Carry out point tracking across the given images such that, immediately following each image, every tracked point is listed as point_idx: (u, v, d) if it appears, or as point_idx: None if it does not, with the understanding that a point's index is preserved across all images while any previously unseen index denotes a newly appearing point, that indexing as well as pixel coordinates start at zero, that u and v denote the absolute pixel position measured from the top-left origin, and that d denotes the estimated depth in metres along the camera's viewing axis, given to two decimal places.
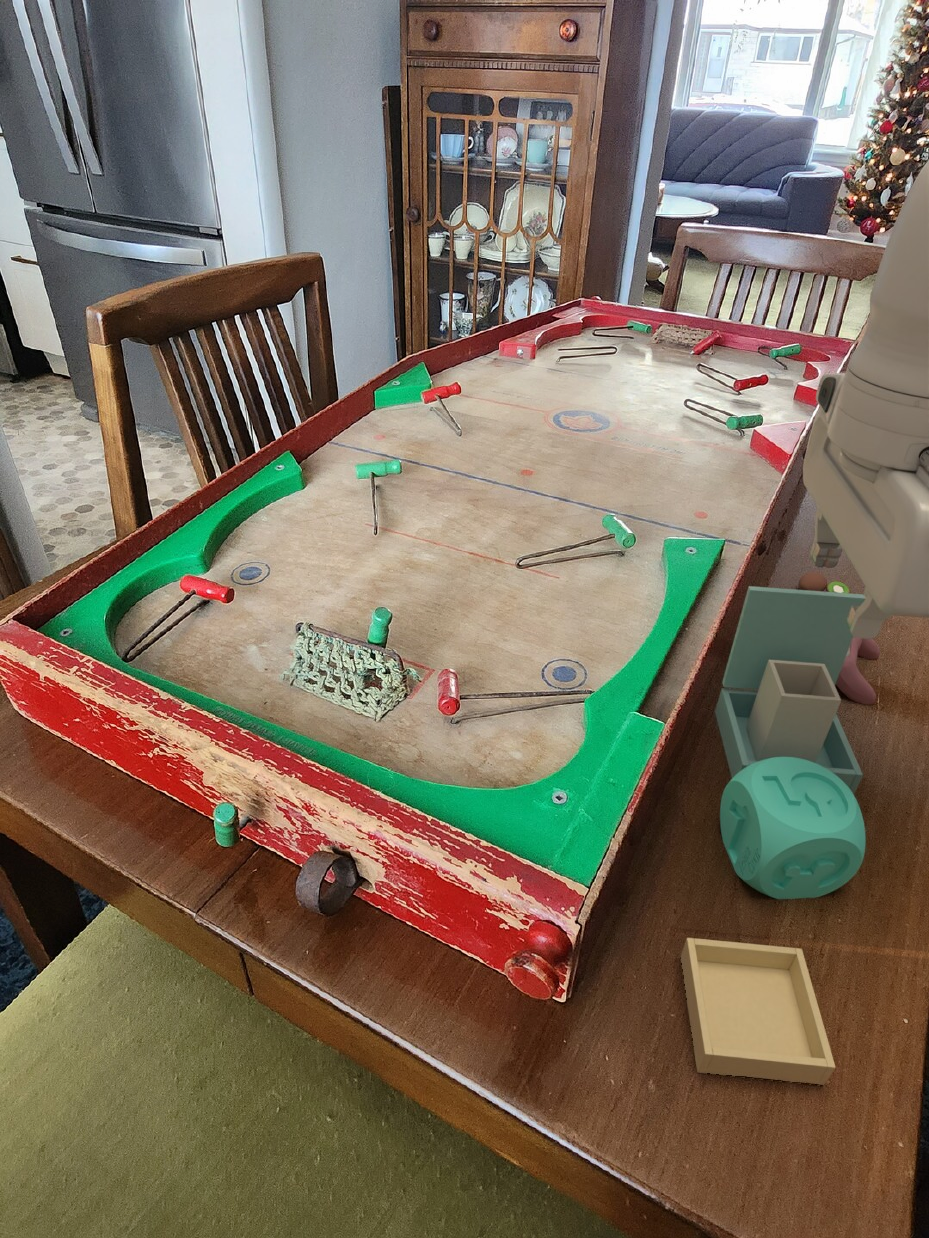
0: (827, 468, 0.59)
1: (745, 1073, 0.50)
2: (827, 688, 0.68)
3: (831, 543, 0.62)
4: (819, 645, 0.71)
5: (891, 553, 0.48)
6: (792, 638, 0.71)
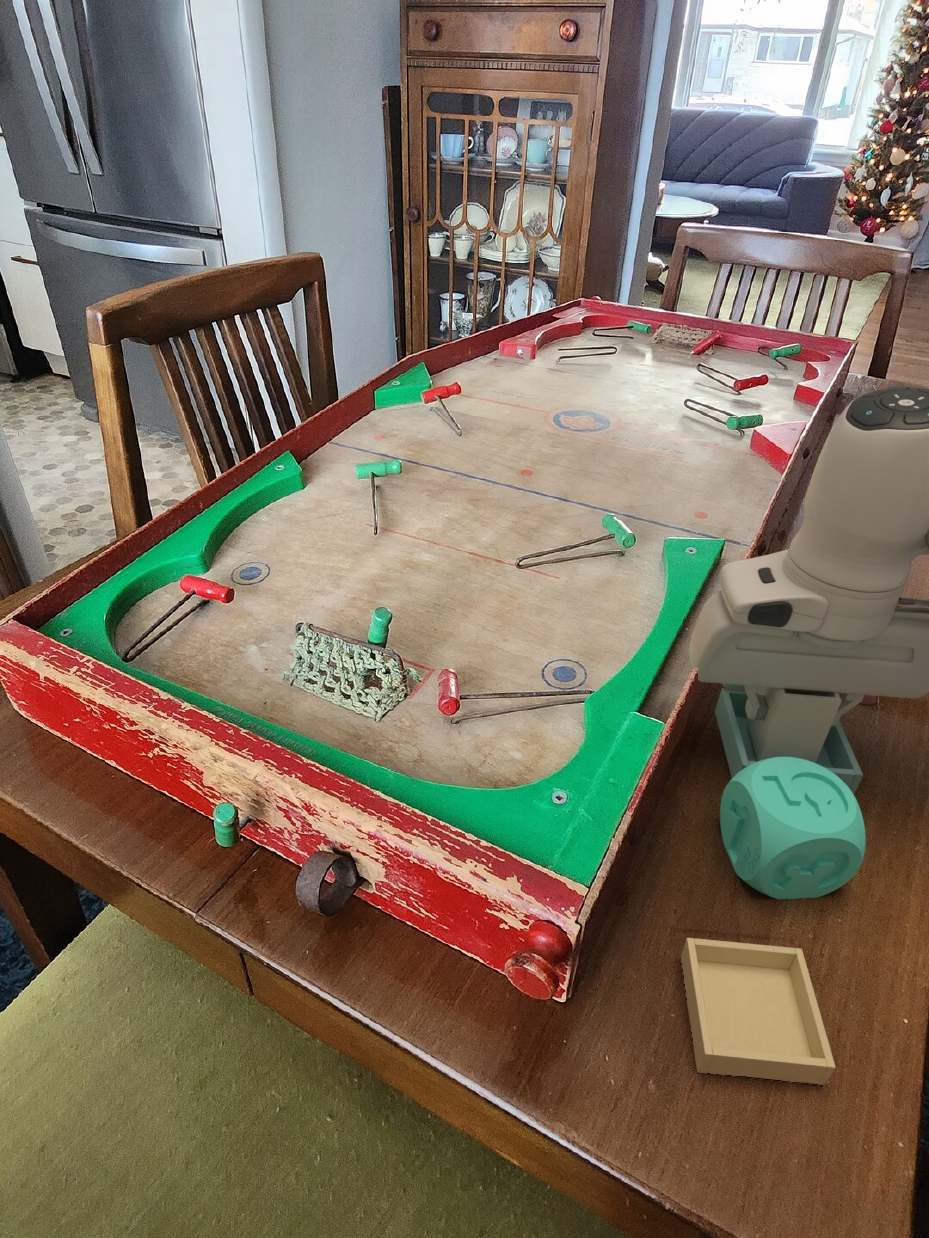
0: (757, 657, 0.65)
1: (745, 1073, 0.50)
2: None
3: (757, 698, 0.70)
4: None
5: (919, 667, 0.64)
6: None
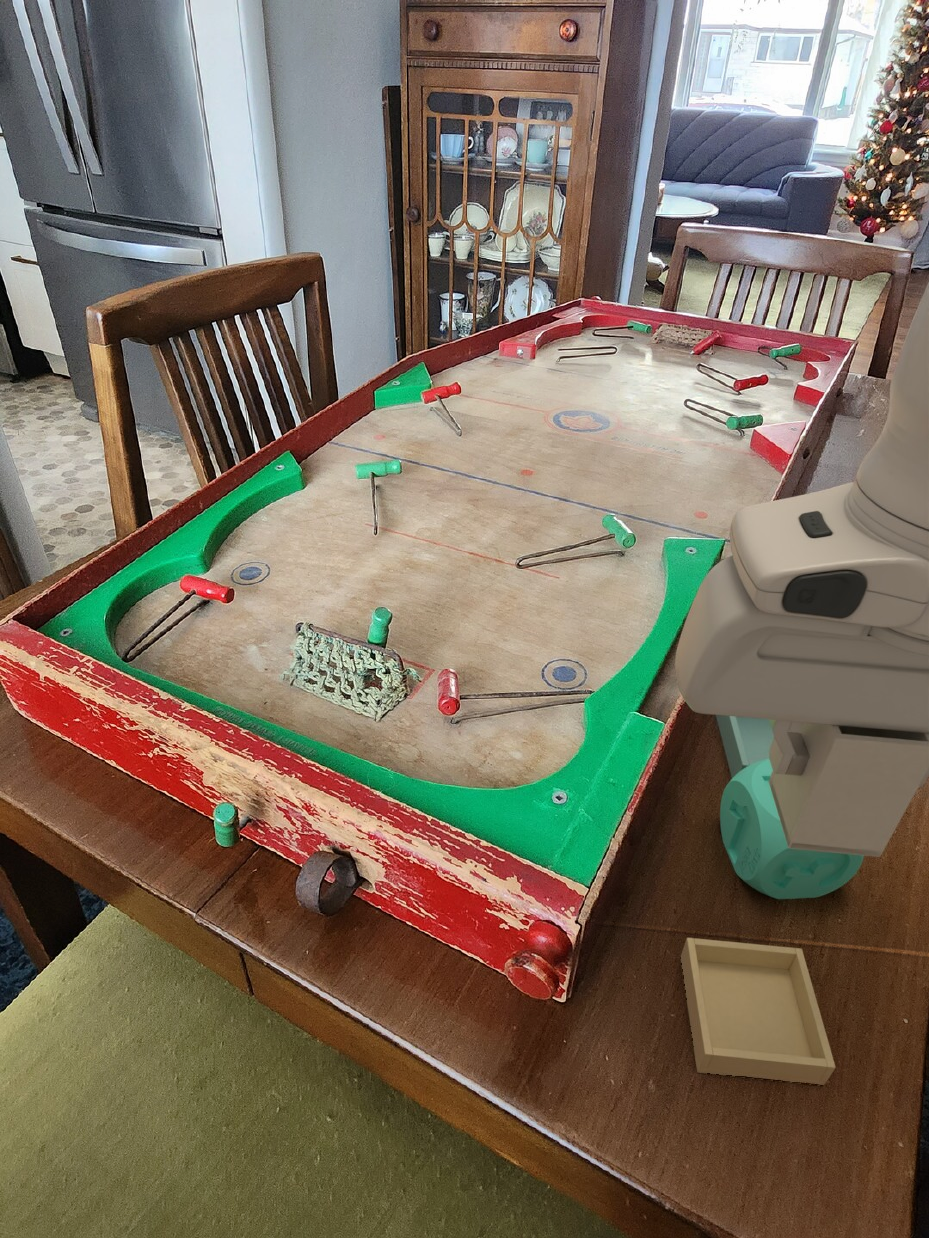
0: (795, 673, 0.37)
1: (745, 1073, 0.50)
2: None
3: (790, 739, 0.42)
4: None
5: None
6: None
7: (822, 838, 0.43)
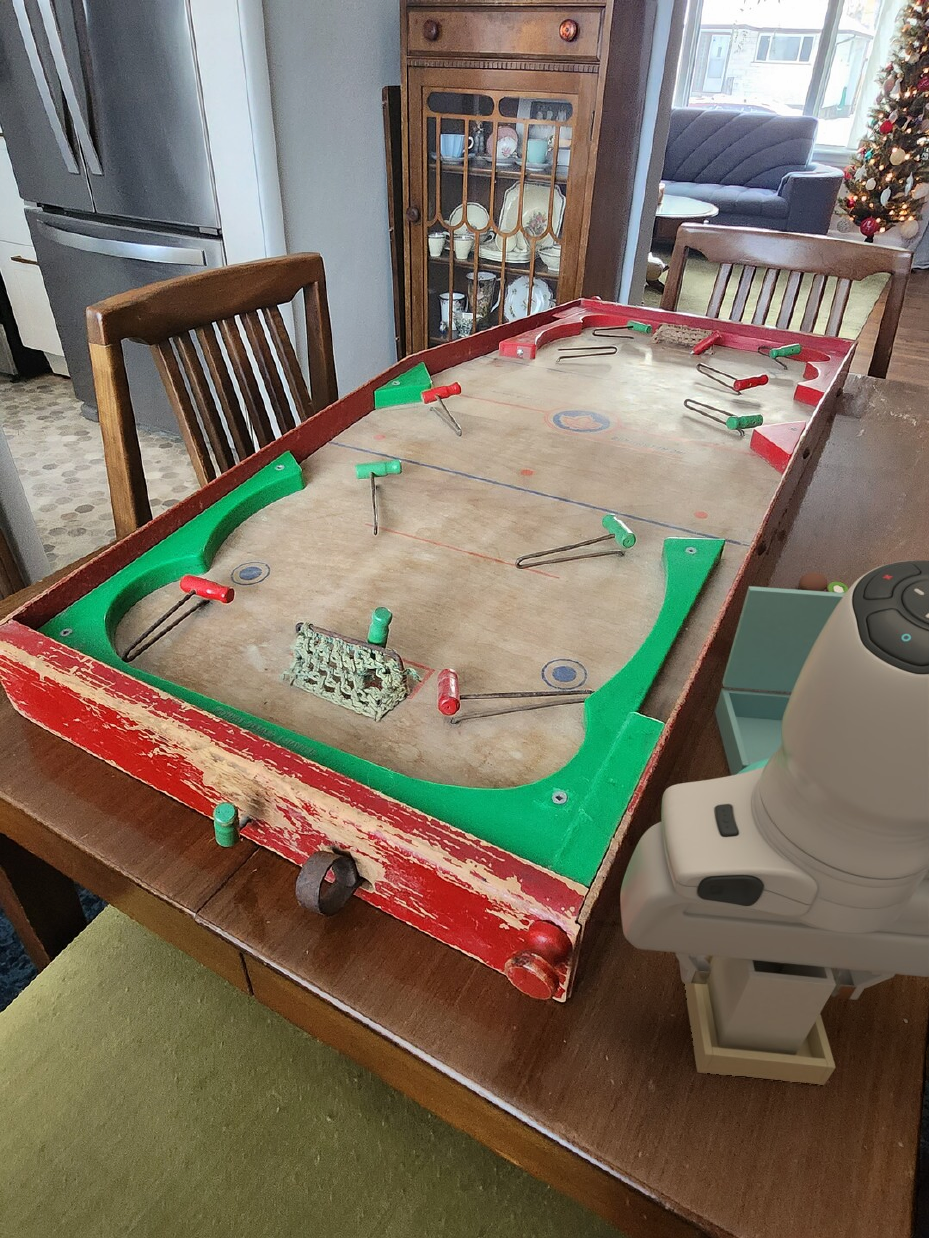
0: (716, 926, 0.45)
1: (745, 1073, 0.50)
2: None
3: None
4: None
5: None
6: (792, 638, 0.71)
7: (746, 1041, 0.50)
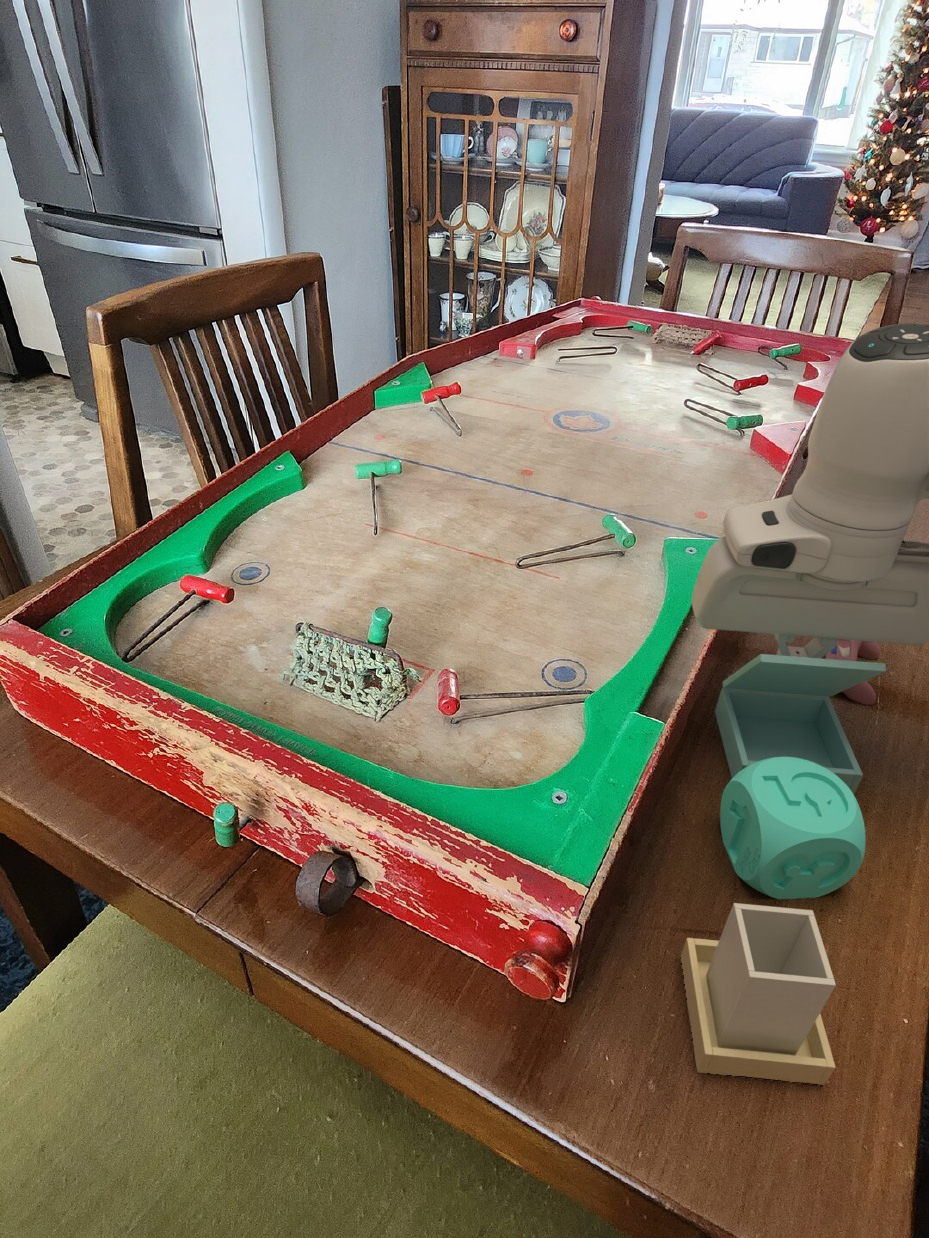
0: (761, 602, 0.65)
1: (745, 1073, 0.50)
2: (815, 954, 0.48)
3: (787, 649, 0.70)
4: (825, 682, 0.69)
5: (923, 611, 0.64)
6: (799, 678, 0.69)
7: (746, 1041, 0.50)
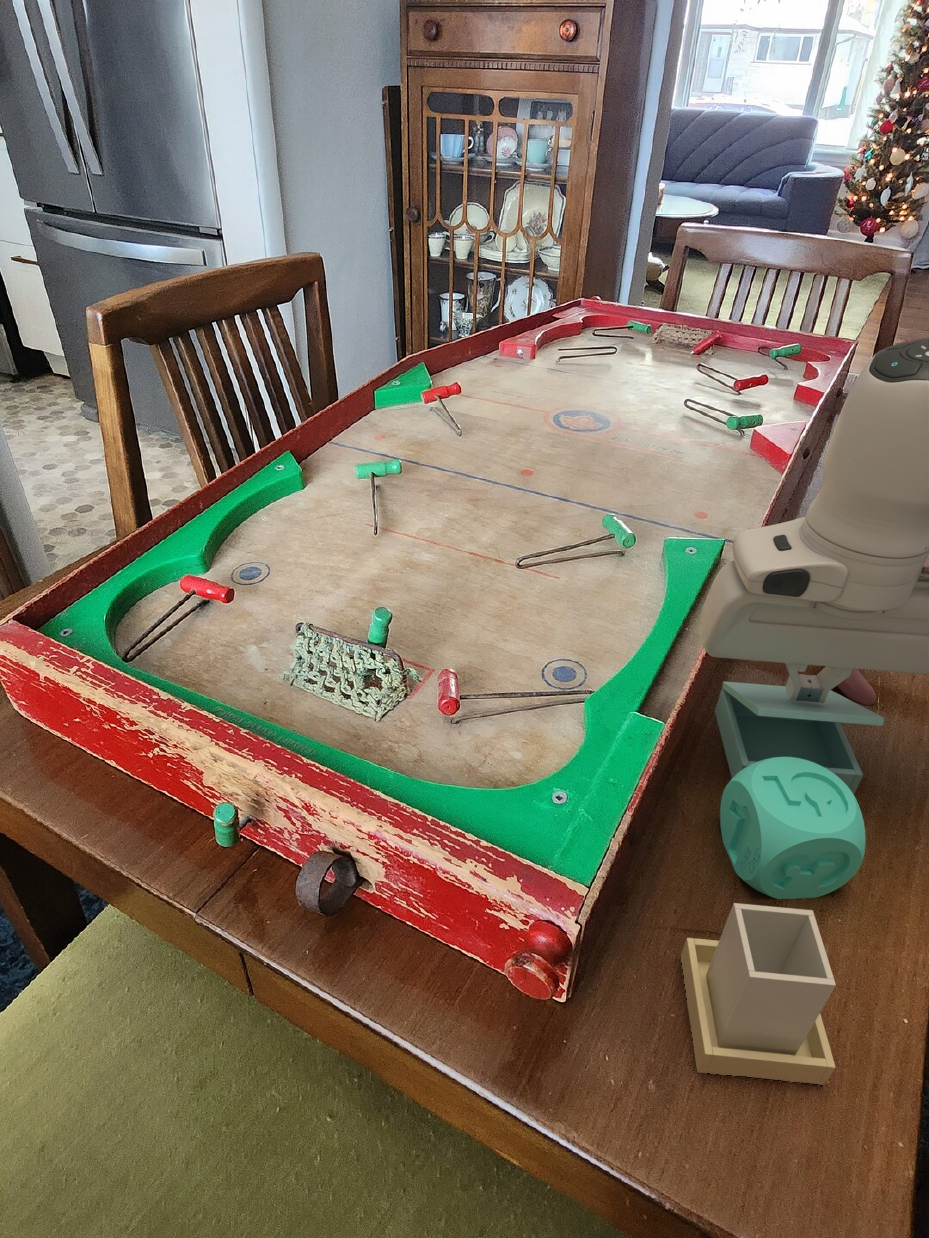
0: (772, 631, 0.62)
1: (745, 1073, 0.50)
2: (815, 954, 0.48)
3: None
4: None
5: None
6: None
7: (746, 1041, 0.50)
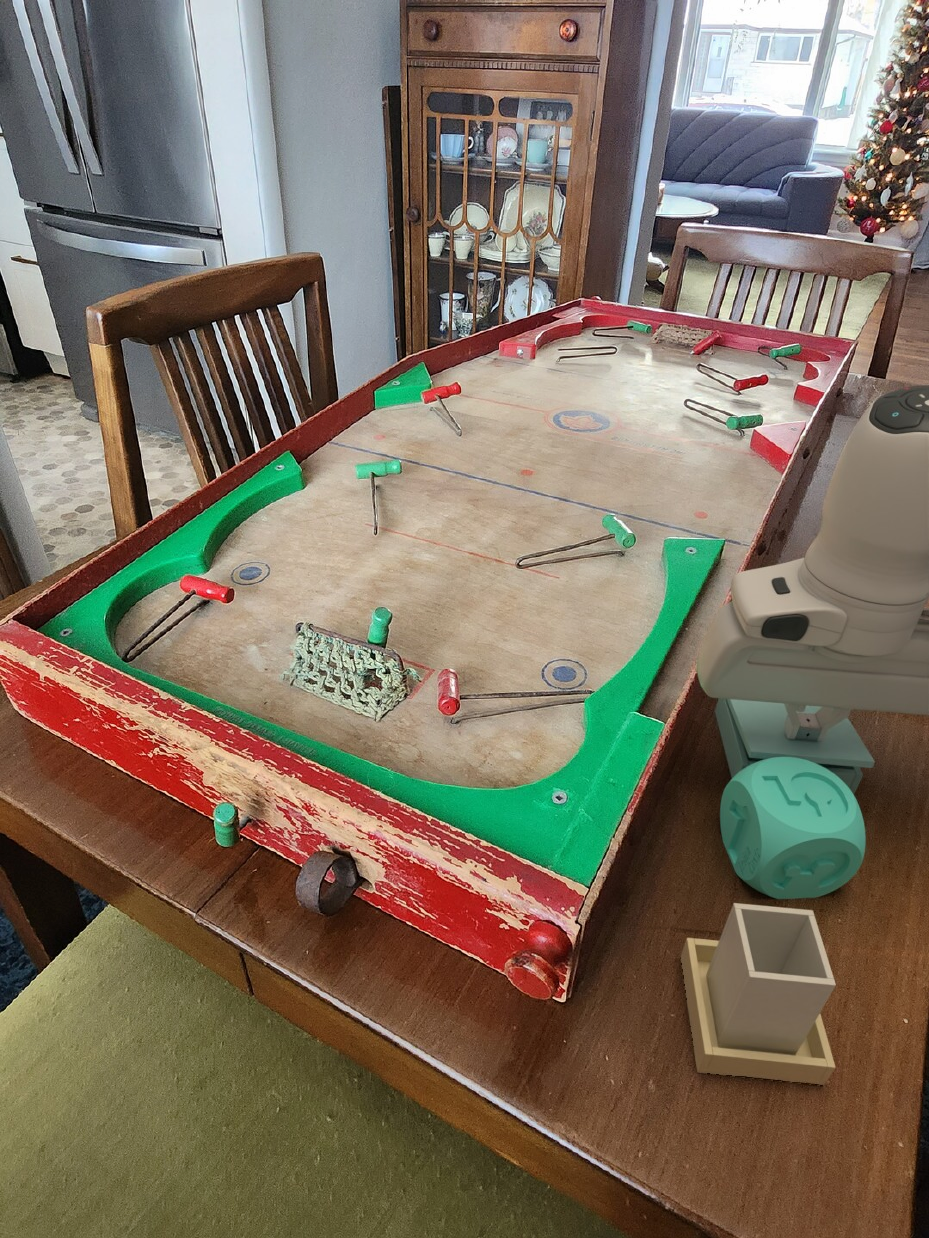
0: (770, 672, 0.62)
1: (745, 1073, 0.50)
2: (815, 954, 0.48)
3: (797, 716, 0.67)
4: None
5: None
6: None
7: (746, 1041, 0.50)
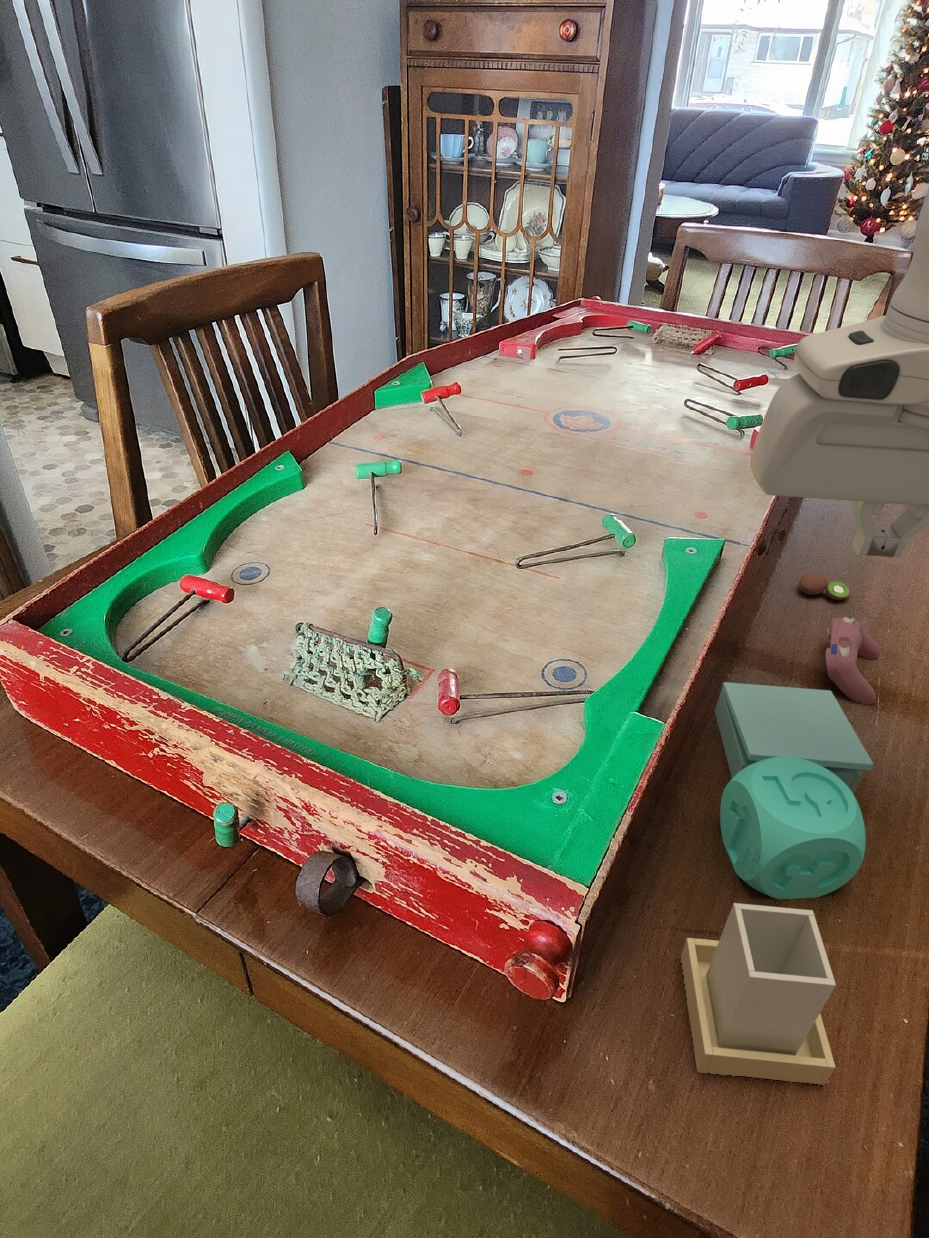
0: (844, 456, 0.51)
1: (745, 1073, 0.50)
2: (815, 954, 0.48)
3: None
4: None
5: None
6: None
7: (746, 1041, 0.50)
